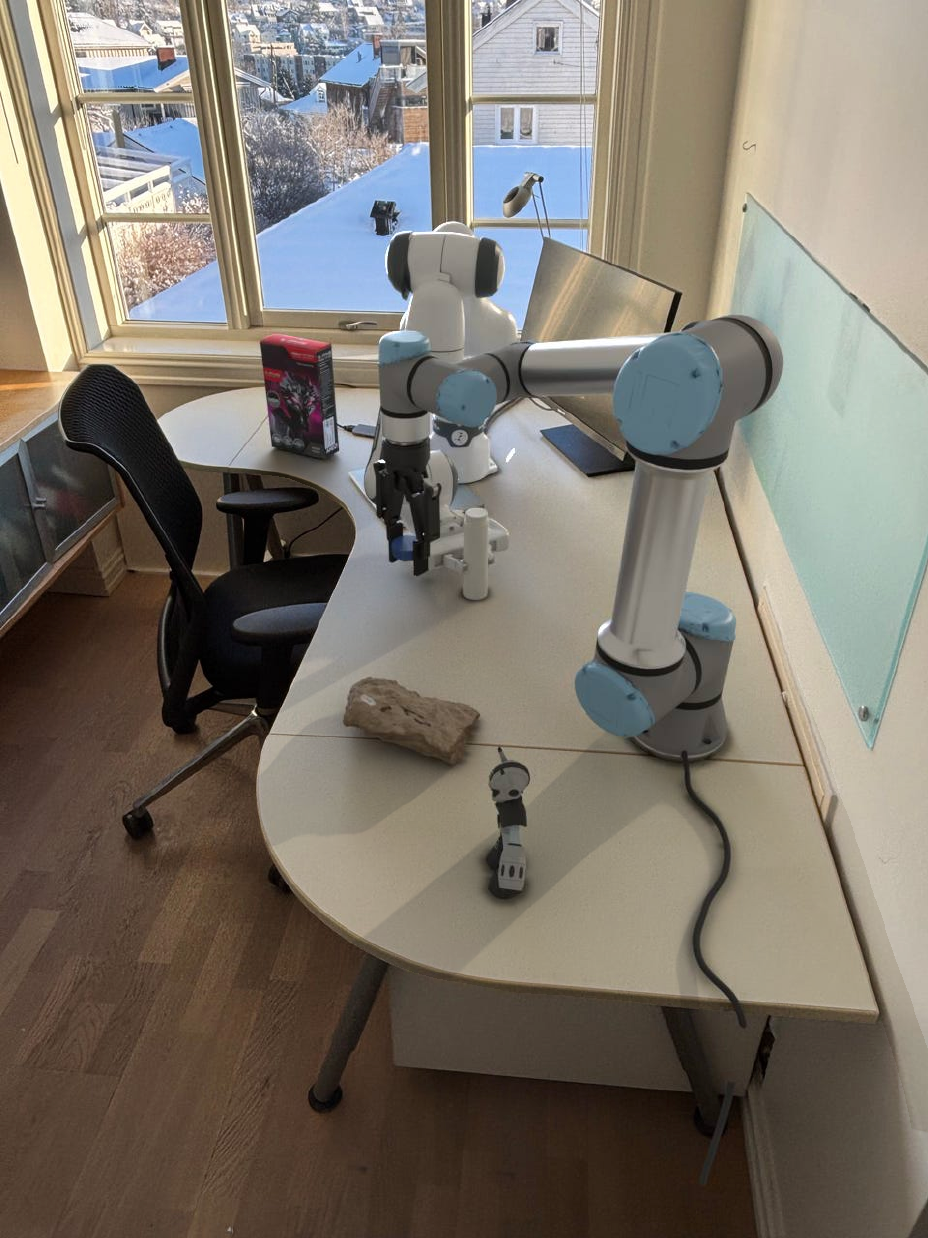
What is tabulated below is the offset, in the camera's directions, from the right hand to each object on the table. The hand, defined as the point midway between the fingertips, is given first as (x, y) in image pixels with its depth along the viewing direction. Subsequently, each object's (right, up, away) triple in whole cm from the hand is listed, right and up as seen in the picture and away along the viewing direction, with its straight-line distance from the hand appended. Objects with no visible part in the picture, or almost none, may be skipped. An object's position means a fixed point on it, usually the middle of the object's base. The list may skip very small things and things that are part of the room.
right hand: (408, 565), depth 154 cm
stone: (0, -26, -12) cm, 29 cm away
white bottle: (+11, -4, +22) cm, 25 cm away
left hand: (+12, +1, +17) cm, 21 cm away
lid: (0, +3, -2) cm, 4 cm away
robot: (+15, -42, -35) cm, 56 cm away
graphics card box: (-31, +33, +77) cm, 89 cm away
